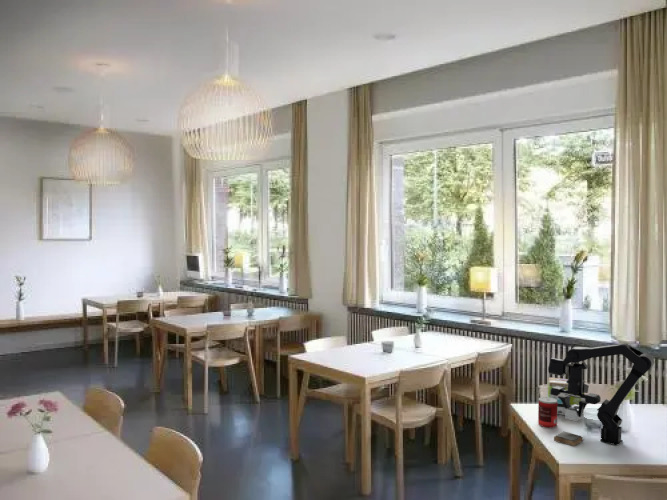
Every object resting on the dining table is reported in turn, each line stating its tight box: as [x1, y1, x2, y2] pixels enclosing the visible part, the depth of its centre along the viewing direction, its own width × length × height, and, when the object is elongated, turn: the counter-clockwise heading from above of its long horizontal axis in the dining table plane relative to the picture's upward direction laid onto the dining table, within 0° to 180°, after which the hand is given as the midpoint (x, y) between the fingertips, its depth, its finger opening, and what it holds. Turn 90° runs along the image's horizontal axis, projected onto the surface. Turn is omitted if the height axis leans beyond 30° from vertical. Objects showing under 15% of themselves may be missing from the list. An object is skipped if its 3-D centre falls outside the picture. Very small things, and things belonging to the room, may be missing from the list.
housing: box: [564, 404, 585, 422], centre depth 237 cm, size 4×7×5 cm, turn 132°
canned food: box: [537, 396, 558, 429], centre depth 247 cm, size 8×8×11 cm
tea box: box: [546, 377, 585, 416], centre depth 264 cm, size 15×10×15 cm
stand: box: [553, 431, 584, 447], centre depth 228 cm, size 8×8×2 cm
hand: (574, 415), depth 237 cm, fingers closed on housing, 4 cm apart
